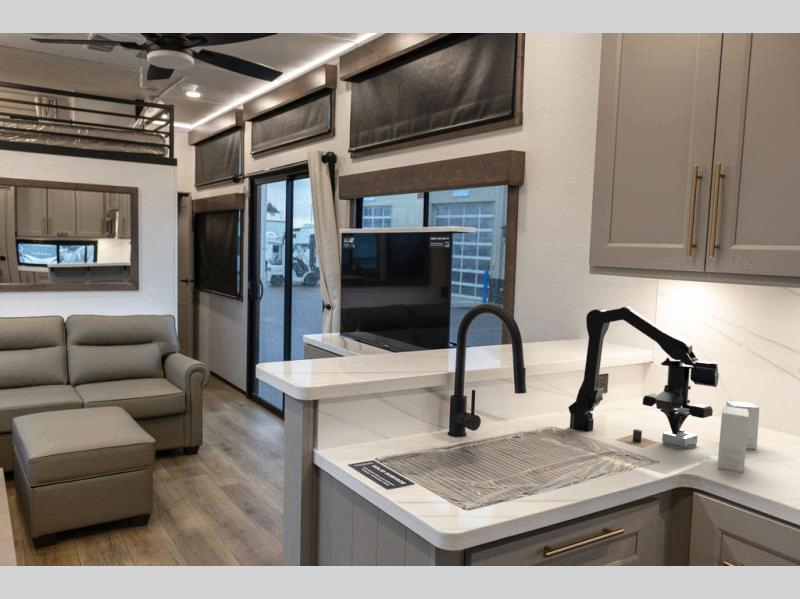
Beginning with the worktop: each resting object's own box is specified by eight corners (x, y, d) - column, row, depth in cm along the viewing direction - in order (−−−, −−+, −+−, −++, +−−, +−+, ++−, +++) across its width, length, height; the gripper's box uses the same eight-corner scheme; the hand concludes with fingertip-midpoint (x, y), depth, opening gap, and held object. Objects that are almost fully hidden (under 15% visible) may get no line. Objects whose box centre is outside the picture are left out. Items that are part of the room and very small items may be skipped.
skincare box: (718, 460, 178) (721, 405, 177) (744, 464, 175) (748, 408, 174) (717, 468, 170) (721, 411, 169) (745, 473, 167) (749, 415, 166)
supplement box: (757, 449, 189) (760, 407, 188) (730, 447, 190) (733, 405, 189) (749, 442, 196) (751, 402, 195) (723, 440, 197) (725, 400, 196)
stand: (614, 442, 191) (615, 429, 191) (631, 438, 197) (632, 424, 197) (642, 450, 184) (642, 436, 184) (658, 445, 190) (659, 431, 189)
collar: (662, 441, 189) (662, 433, 189) (674, 437, 193) (675, 429, 193) (684, 447, 183) (685, 438, 183) (696, 443, 188) (697, 435, 187)
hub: (657, 446, 189) (658, 428, 189) (672, 441, 195) (673, 423, 194) (686, 454, 182) (687, 435, 182) (701, 448, 188) (702, 430, 187)
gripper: (633, 379, 187) (630, 430, 189) (695, 391, 173) (691, 447, 174) (654, 375, 194) (651, 425, 195) (715, 386, 180) (711, 440, 181)
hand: (674, 434), depth 186 cm, fingers closed
